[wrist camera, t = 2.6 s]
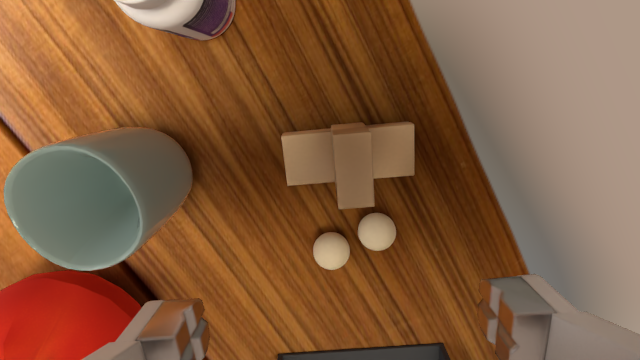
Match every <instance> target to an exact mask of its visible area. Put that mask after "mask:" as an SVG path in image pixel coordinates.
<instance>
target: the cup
mask: <svg viewBox="0 0 640 360" xmlns="http://www.w3.org/2000/svg"><path fill="white" fill-rule="evenodd" d="M192 181H193V172H192V167H191V164H190V161H189V159H188V157H187V155H186V153H185V151H184V150H183V149H182V147H181V146H180V145H179V144H178V143H177V142H176V141H175V140H174V139H173V138H172V137H170V136H169V135H167V134H165V133H163V132H161V131H159V130H156V129H152V128H147V127H122V128H115V129H109V130H104V131H99V132H94V133H90V134H85V135H81V136H77V137H73V138H69V139H65V140H61V141H58V142H54V143H51V144H48V145H46V146H43V147H41V148H38V149H36V150H34V151H32V152H30V153H29V154H27V155H26V156H24V157H23V158H21V159H20V160H19V161H18V162H17V163H16V164H15V165H14V166H13V168H12V169H11V171H10V173H9V175H8V177H7V178H6V182H5V187H4V202H5V206H6V209H7V212H8V215H9V217H10V219H11V221H12V223H13V225H14V227H15V228H16V229H17V231H18V232H19V234H20V235H21V236H22V238H23V239H24V240H25V241H26V242H27V243H28V244H29V245H30V246H31V247H32V248H33V249H34V250H35V251H37V252H38V253H39V254H40V255H42V256H43V257H44V258H46V259H48V260H49V261H51V262H53V263H55V264H57V265H60V266H62V267H65V268H68V269H73V270H79V271H93V270H99V269H105V268H108V267H111V266H114V265H116V264H118V263H120V262H122V261H123V260H125V259H127V258H129V257H130V256H131V255H133V254H134V253H135V252H136V251H137V250H139V249H140V248H141V247H142V246H143V245H144V244H146V243H147V242H148V241H149V240H150V239H151V238H152V237H153V236H154V235H155V234H156V233H157V232H158V231H159V230H160V229H161V228H162V227H163V226H164V225H166V224H167V222H168V221H169V220H170V219H171V218H172V217H173V216H174V215H175V214H176V213H177V211H178V210H179V209H180V207H181V206H182V205H183V203H184V202H185V200H186V199H187V197H188V195H189V192H190V190H191V187H192Z"/></svg>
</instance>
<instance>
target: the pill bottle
mask: <svg viewBox="0 0 640 360" xmlns="http://www.w3.org/2000/svg"><path fill="white" fill-rule="evenodd" d="M114 1H115V2H116V4H117V5H118V6H119V7H120V8H121V9H122V10H123V12H125V13H126V14H127V15H128V16H129V17H131V18H132V19H133V20H135V21H137V22H138V23H140V24H143V25H145V26H147V27H150V28H153V29H157V30H161V31H164V32H168V33H172V34H175V35H179V36H182V37H186V38H190V39H194V40H210V39H213V38H215V37H217V36H219V35H221V34H222V33H223V32H224V31H225V30H226V29H227V28H228V27H229V25H230V24H231V22H232V19H233V17H234V13H235V0H114Z"/></svg>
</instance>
